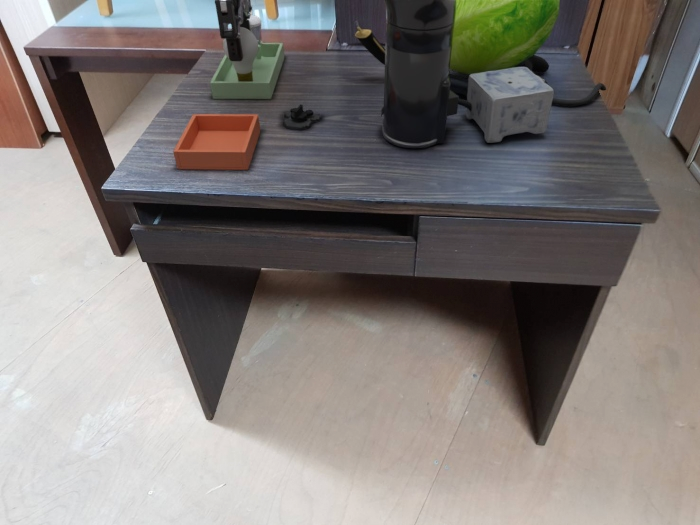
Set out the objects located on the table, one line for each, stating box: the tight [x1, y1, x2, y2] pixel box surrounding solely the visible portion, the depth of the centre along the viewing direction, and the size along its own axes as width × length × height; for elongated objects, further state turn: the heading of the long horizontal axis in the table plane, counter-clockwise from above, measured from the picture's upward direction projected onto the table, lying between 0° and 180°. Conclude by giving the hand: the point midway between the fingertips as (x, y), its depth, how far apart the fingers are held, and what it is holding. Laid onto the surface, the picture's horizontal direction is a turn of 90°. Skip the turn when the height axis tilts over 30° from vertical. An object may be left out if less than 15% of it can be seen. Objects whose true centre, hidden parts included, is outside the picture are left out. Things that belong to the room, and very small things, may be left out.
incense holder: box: [465, 67, 555, 144], centre depth 84 cm, size 10×8×10 cm
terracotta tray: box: [173, 113, 261, 171], centre depth 82 cm, size 10×11×3 cm
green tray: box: [209, 42, 285, 100], centre depth 101 cm, size 10×18×3 cm, turn 178°
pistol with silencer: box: [354, 26, 469, 97], centre depth 93 cm, size 4×25×11 cm, turn 53°
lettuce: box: [450, 0, 561, 76], centre depth 91 cm, size 15×23×16 cm
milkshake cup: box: [248, 4, 263, 69], centre depth 102 cm, size 4×5×10 cm
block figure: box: [282, 103, 322, 131], centre depth 88 cm, size 6×2×6 cm
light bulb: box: [222, 27, 258, 82], centre depth 95 cm, size 6×6×10 cm
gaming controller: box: [513, 54, 550, 85], centre depth 97 cm, size 11×4×7 cm
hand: (241, 51), depth 94 cm, fingers open, 7 cm apart
